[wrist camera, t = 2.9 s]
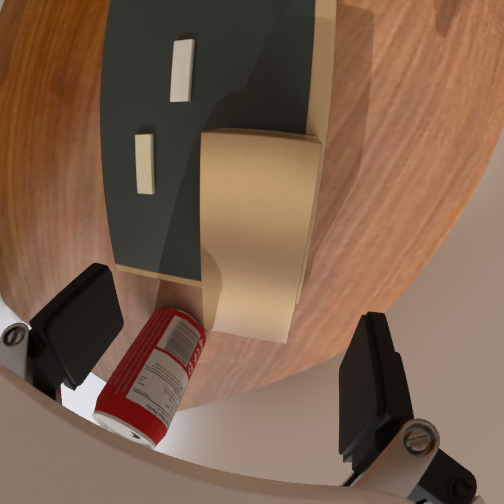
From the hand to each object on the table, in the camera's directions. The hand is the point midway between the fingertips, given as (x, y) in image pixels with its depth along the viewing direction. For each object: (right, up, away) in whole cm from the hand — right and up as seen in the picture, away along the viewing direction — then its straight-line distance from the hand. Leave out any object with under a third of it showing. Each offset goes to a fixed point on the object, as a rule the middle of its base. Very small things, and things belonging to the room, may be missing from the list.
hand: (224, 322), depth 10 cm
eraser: (+2, +4, +7) cm, 9 cm away
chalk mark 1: (-6, +8, +7) cm, 12 cm away
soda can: (-6, -4, +15) cm, 17 cm away
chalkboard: (-2, +11, +6) cm, 13 cm away
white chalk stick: (-3, +13, +4) cm, 14 cm away
